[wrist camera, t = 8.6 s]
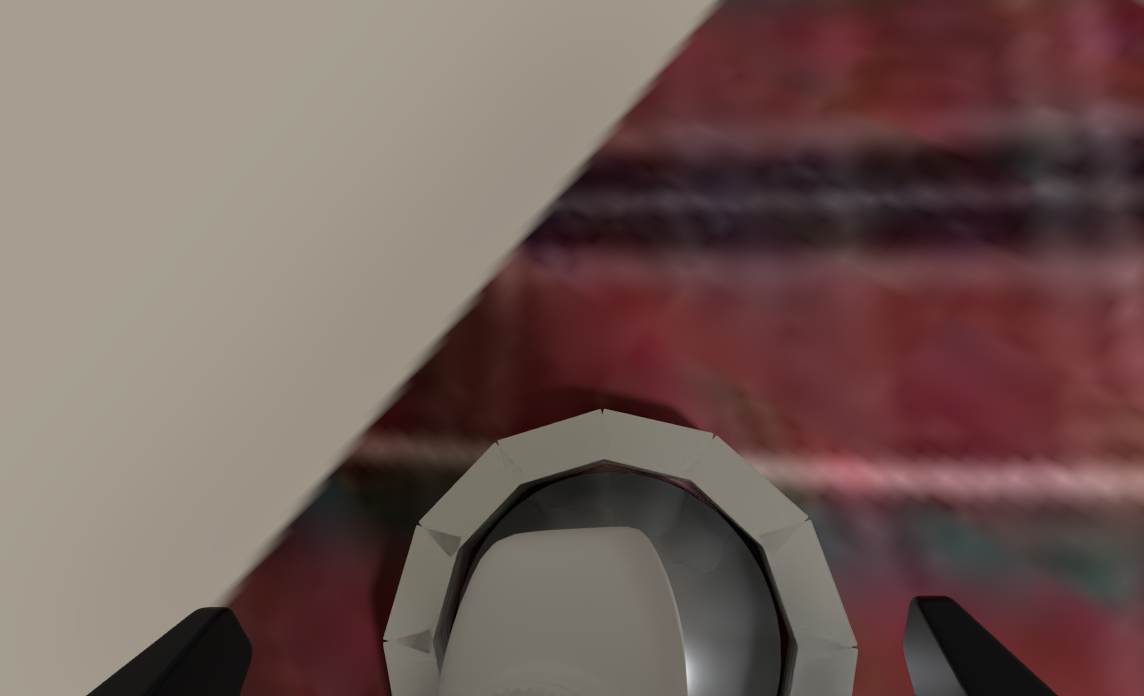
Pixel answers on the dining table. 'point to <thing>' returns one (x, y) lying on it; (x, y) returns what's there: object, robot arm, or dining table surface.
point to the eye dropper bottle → (567, 619)
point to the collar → (676, 530)
